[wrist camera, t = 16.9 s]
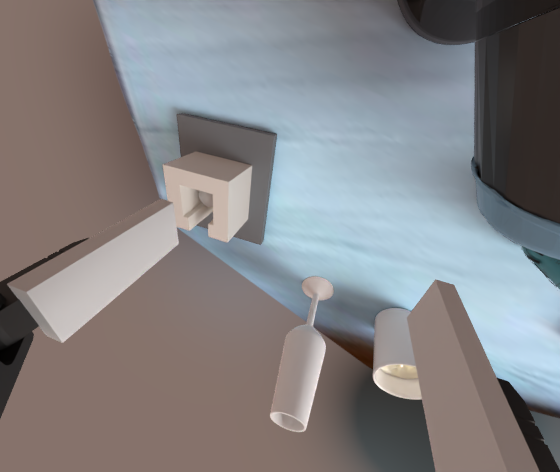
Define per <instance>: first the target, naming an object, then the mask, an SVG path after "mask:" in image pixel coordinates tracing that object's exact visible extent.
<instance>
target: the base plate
mask: <svg viewBox="0 0 560 472" xmlns="http://www.w3.org/2000/svg"><path fill="white" fill-rule="evenodd" d="M177 121H178V132H179V142H180V152H181V157H183V156H186V155H188V154H191V153H193V152H201V153H205V154H209V155H213V156H217V157H221V158H225V159H229V160H233V161H237V162H241V163H245V164H249V165H252V175H251V188H250V201H249V214H248V220H247V221H246V222H245V223H244V224H243V226H242V227H241V228H240V229H239V230H238V231H237V232H236V234H235V235H234V236H233V237H236V238H240V239H243V240H246V241H249V242H253V243H256V244H259V245H261V244H262V242H263V240H264V232H265V224H266V217H267V209H268V201H269V193H270V185H271V178H272V170H273V162H274V154H275V147H276V139H277V134H274V133H270V132H265V131H261V130H256V129H252V128H247V127H243V126H238V125H234V124H229V123H225V122H220V121H216V120H211V119H207V118H202V117H198V116H193V115H189V114H184V113H181V114H177ZM199 198H200V200H201V202H202V203H203V204H204V205H205V206H208V207H213V194H210V193H207V192H203V191H199ZM212 220H213V212H211V213H210V214H209V215H208V216H207V217H205V218H204V219H203V220H202V221H201V222H199V223H198V224H197V226H200V227H204V228H207V229H208V224H209V223H210V222H211V221H212Z"/></svg>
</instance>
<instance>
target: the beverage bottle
mask: <svg viewBox="0 0 560 472" xmlns="http://www.w3.org/2000/svg"><path fill="white" fill-rule="evenodd" d="M522 248H523V250H522V251H524V254H526V255H527V257H528V259H531V260H532V262H534V263H535V265H536V266H537V267H538V268H539V269H540V271H542V273H543V274H544V276H546V278H547V279H548V278H549V279H550V280H551V281H552V282H553V284H555V285H554V286H557V287H558V288H559V289H560V260H559V259H556V258H552V257H549V256H546V255H544V254H541V253H538V252H535V251H533V250H530V249H528V248H526V247H523V246H522ZM550 280H549V281H550ZM551 281H550V282H551Z"/></svg>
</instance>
